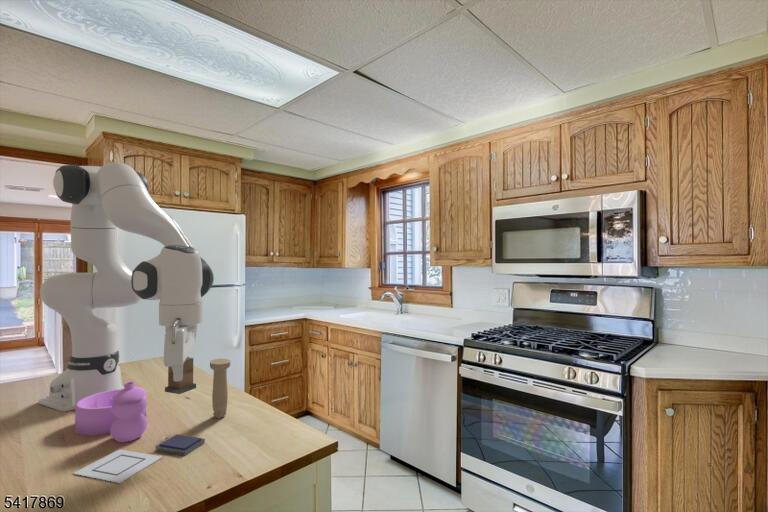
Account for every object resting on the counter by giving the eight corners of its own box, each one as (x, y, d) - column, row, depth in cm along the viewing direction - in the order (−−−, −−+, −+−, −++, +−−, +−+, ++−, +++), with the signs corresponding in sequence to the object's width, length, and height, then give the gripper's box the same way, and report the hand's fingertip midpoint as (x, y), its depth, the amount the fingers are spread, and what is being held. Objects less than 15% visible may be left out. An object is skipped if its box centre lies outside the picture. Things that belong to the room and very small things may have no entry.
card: (72, 474, 77) (72, 472, 77) (119, 450, 86) (119, 449, 86) (119, 483, 74) (119, 482, 74) (162, 457, 83) (162, 456, 83)
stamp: (164, 391, 87) (165, 360, 87) (181, 385, 91) (182, 356, 91) (179, 394, 85) (179, 362, 85) (196, 388, 89) (196, 357, 89)
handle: (215, 422, 101) (215, 365, 101) (206, 415, 106) (207, 360, 106) (233, 417, 104) (233, 362, 105) (224, 410, 109) (224, 357, 109)
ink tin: (155, 450, 86) (155, 444, 86) (176, 438, 92) (176, 433, 92) (184, 455, 84) (184, 449, 84) (204, 443, 90) (204, 437, 90)
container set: (68, 423, 101) (69, 373, 101) (135, 406, 112) (135, 361, 113) (95, 455, 85) (95, 395, 85) (169, 431, 96) (169, 378, 96)
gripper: (190, 321, 80) (189, 388, 79) (200, 309, 99) (200, 363, 99) (155, 323, 77) (155, 392, 77) (173, 311, 97) (173, 366, 97)
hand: (180, 376), depth 88 cm, fingers closed on stamp, 5 cm apart
